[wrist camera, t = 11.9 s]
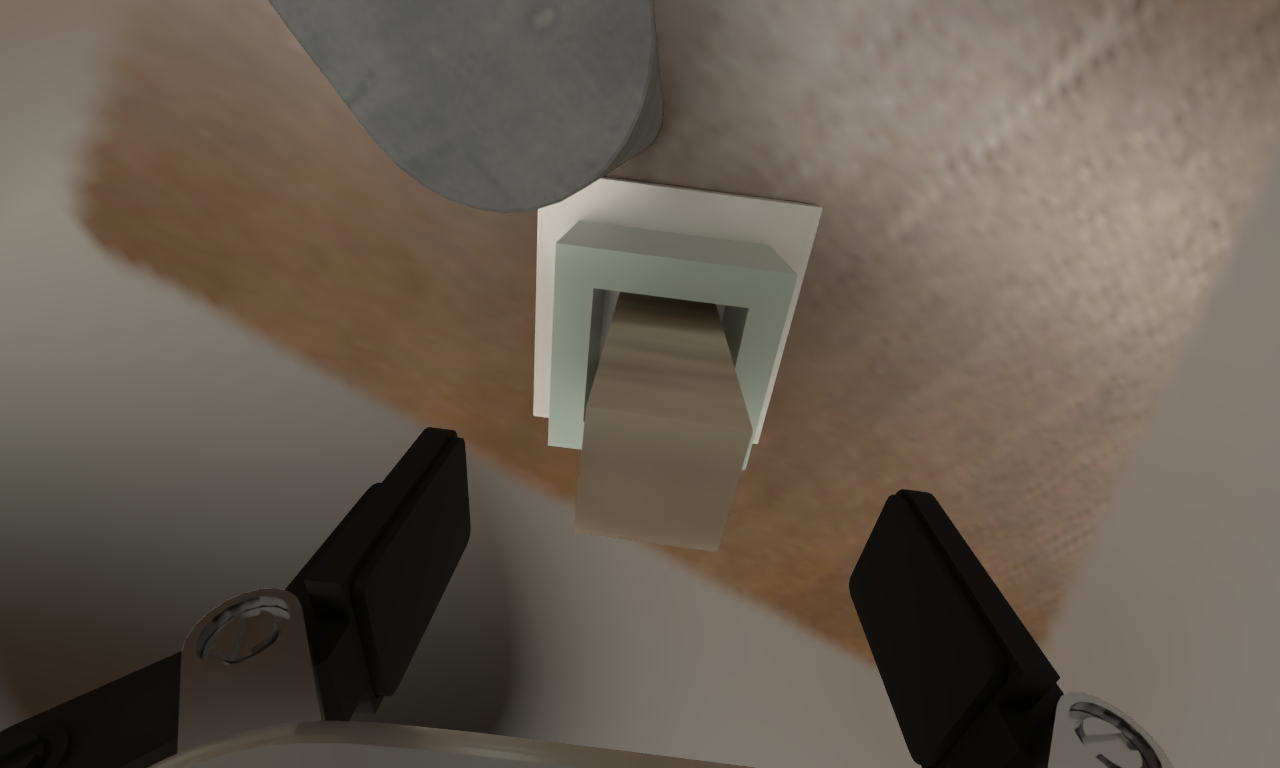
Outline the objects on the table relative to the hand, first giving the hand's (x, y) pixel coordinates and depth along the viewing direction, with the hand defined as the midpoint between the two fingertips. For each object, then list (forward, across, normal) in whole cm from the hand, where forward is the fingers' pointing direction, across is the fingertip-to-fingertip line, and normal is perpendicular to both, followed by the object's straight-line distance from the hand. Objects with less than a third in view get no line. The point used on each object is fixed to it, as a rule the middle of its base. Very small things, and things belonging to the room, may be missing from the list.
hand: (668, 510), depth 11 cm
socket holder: (+14, 0, +1) cm, 15 cm away
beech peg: (+14, 0, +1) cm, 14 cm away
